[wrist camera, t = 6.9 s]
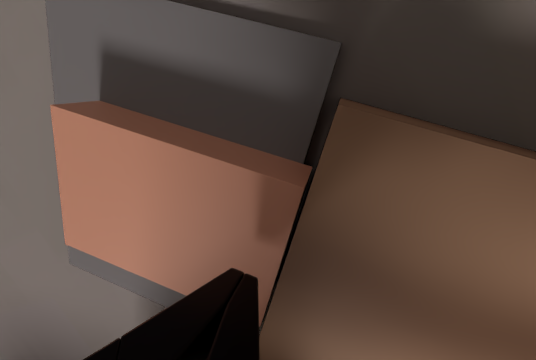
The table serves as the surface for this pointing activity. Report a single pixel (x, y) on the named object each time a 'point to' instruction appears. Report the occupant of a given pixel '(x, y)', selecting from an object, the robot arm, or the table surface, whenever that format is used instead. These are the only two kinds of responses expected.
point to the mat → (189, 82)
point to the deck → (409, 247)
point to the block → (172, 198)
